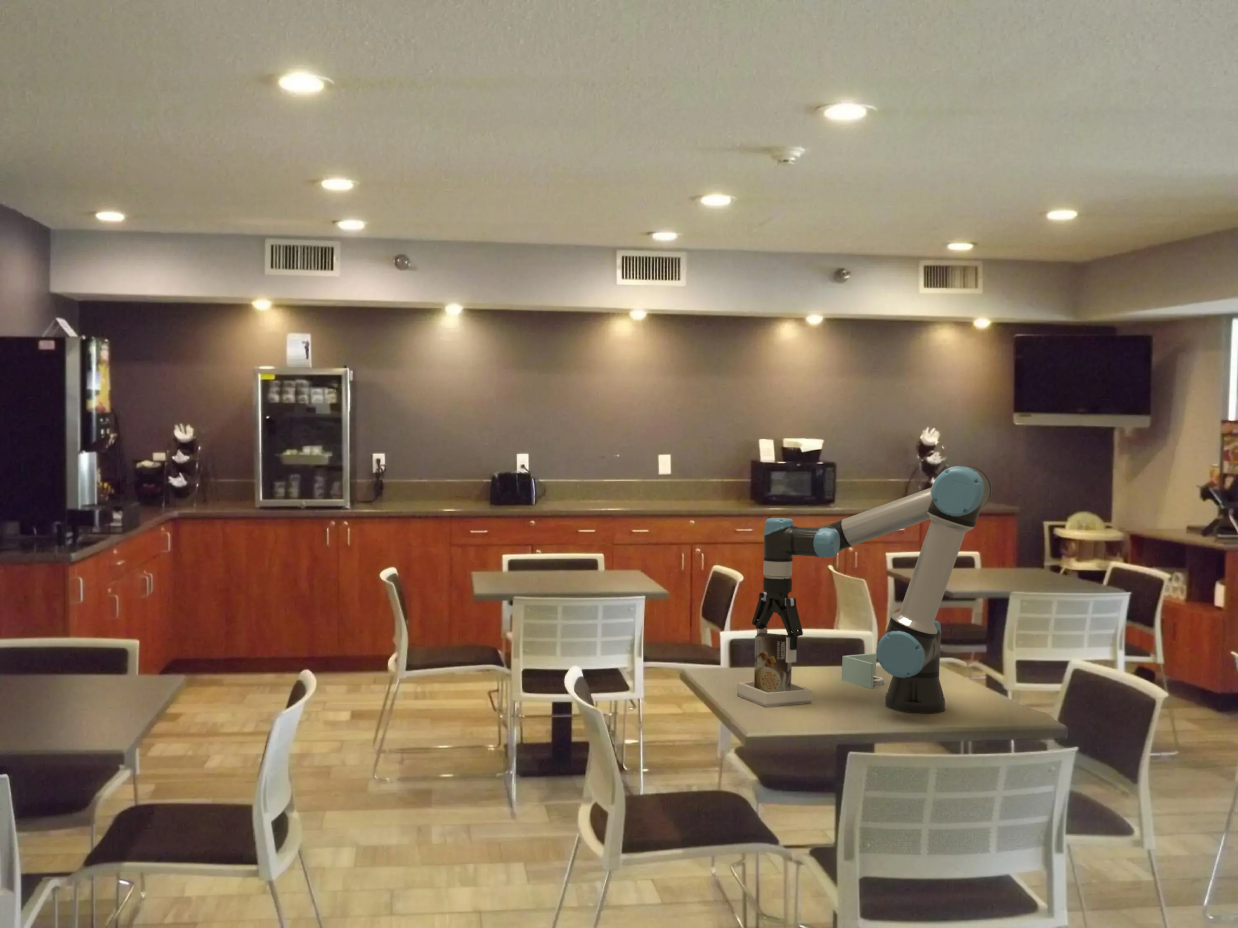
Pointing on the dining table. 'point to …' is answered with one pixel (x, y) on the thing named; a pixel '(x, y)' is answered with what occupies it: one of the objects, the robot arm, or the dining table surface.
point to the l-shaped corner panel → (861, 670)
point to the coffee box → (771, 663)
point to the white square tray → (774, 695)
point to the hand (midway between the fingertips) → (776, 657)
